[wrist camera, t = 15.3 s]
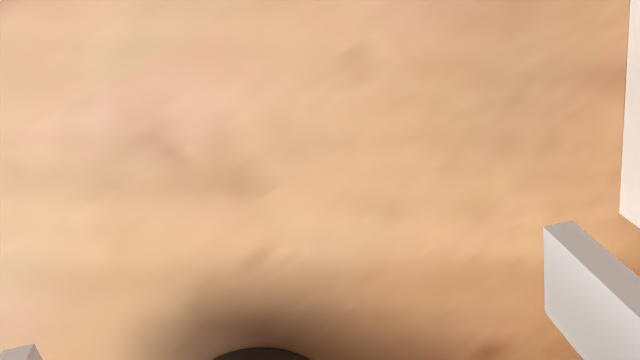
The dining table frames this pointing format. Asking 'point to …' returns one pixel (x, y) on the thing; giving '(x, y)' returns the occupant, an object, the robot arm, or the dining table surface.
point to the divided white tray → (632, 124)
